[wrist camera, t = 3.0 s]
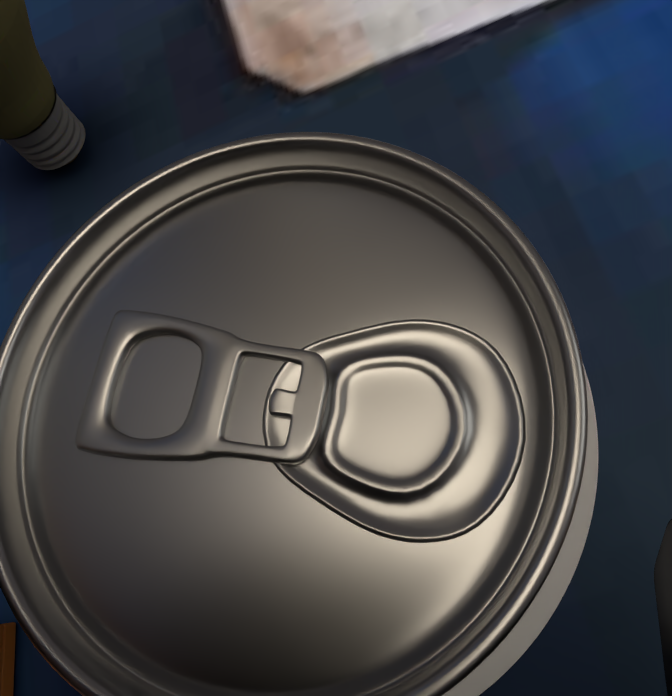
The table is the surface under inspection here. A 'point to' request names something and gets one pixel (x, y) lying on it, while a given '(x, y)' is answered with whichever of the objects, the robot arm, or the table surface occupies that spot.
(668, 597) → the robot arm
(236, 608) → the can
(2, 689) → the tray
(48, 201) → the table surface
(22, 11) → the light bulb
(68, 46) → the table surface
